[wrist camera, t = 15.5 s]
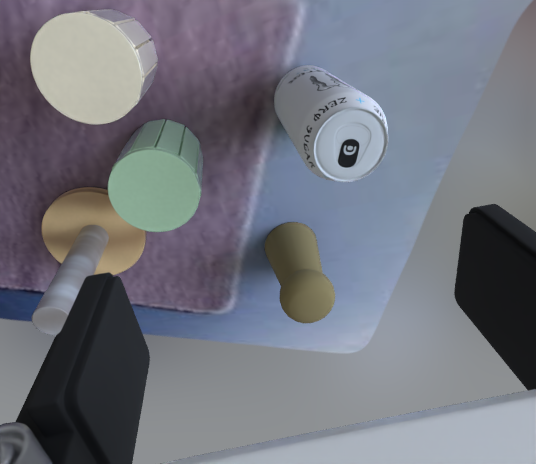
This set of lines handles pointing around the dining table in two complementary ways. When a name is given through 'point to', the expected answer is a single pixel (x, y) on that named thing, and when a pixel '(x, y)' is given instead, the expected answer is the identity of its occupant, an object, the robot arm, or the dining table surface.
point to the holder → (83, 249)
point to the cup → (93, 64)
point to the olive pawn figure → (299, 272)
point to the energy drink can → (331, 124)
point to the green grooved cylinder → (157, 177)
